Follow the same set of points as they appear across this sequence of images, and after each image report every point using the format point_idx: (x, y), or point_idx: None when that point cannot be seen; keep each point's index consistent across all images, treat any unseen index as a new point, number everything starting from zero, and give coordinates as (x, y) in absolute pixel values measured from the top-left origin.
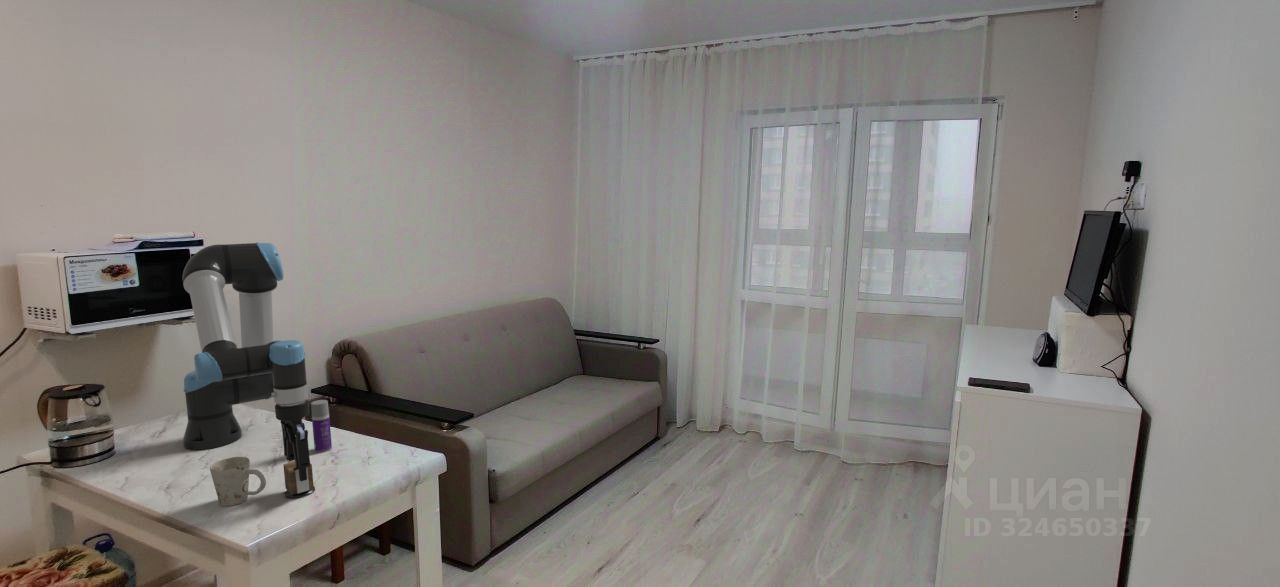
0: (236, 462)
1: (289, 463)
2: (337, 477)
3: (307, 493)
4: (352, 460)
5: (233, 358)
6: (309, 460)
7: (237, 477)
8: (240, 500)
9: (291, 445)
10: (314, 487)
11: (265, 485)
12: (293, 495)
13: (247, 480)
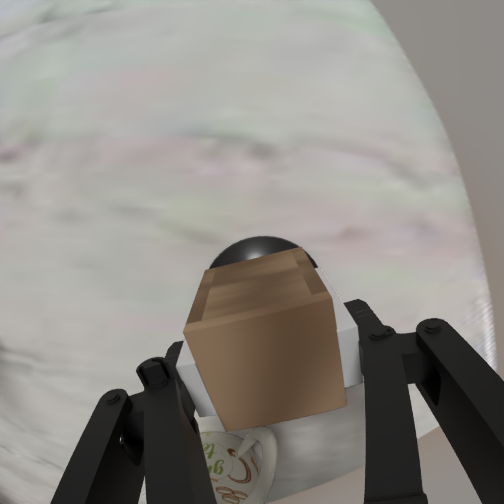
0: None
1: (228, 409)
2: (180, 131)
3: None
4: (36, 78)
5: None
6: (464, 341)
7: None
8: (249, 450)
9: (208, 492)
10: (264, 239)
11: (271, 432)
12: None
13: (230, 481)
